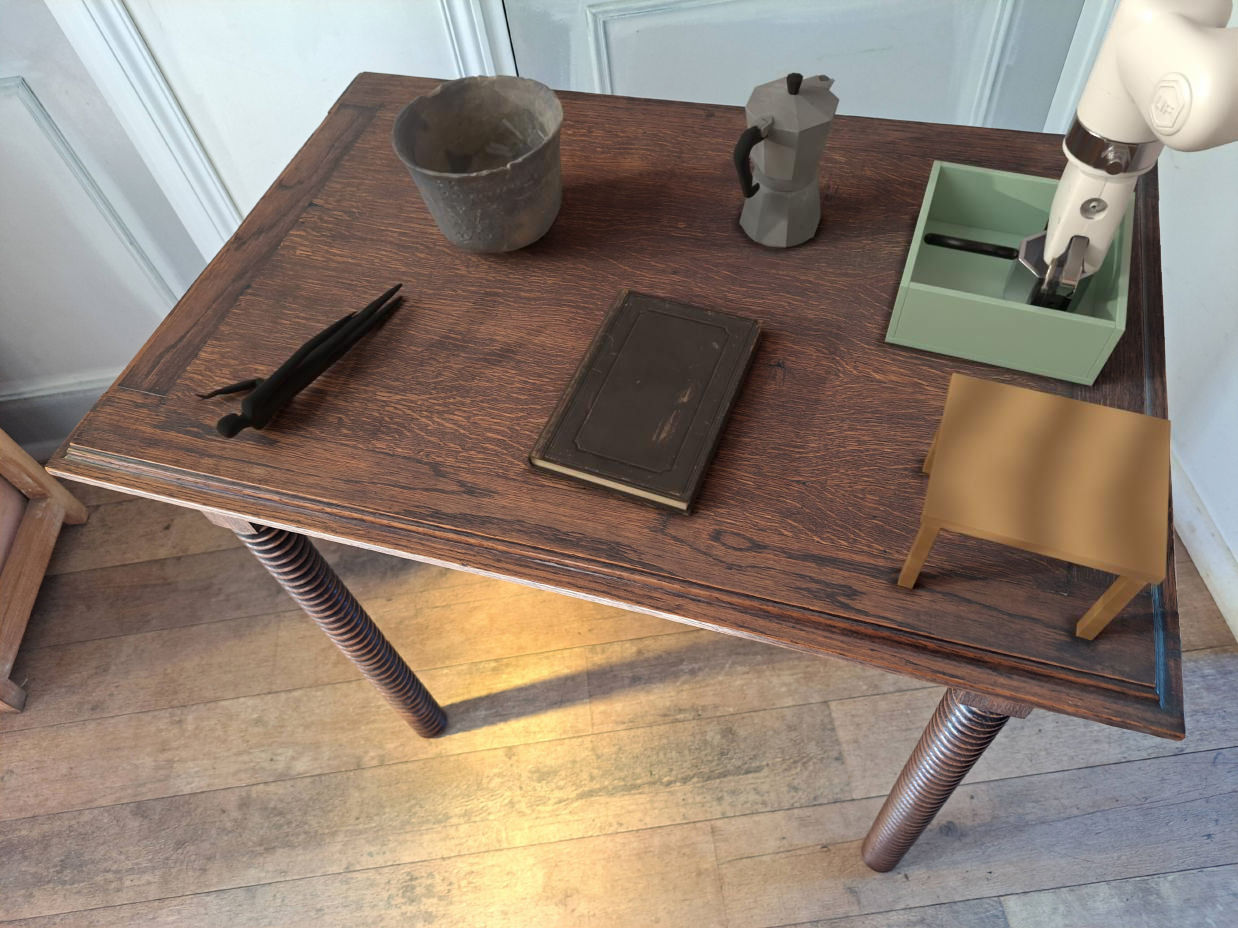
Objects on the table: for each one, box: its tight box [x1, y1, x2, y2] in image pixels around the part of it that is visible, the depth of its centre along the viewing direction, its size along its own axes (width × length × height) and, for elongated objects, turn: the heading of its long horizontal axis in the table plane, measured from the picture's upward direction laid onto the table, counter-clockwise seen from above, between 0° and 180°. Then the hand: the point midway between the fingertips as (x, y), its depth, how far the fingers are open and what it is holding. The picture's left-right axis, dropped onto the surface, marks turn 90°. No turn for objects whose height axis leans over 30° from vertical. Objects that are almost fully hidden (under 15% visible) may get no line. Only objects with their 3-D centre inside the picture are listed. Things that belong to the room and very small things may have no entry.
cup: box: [390, 74, 564, 254], centre depth 94 cm, size 18×18×15 cm
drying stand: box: [897, 372, 1172, 641], centre depth 68 cm, size 16×14×12 cm
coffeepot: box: [732, 72, 840, 248], centre depth 90 cm, size 15×9×18 cm, turn 137°
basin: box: [884, 159, 1136, 387], centre depth 86 cm, size 20×20×8 cm
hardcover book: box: [527, 288, 765, 516], centre depth 84 cm, size 16×23×2 cm
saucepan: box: [924, 230, 1095, 313], centre depth 87 cm, size 16×7×6 cm, turn 69°
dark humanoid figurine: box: [194, 282, 404, 439], centre depth 89 cm, size 8×9×25 cm
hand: (1047, 285), depth 86 cm, fingers open, 9 cm apart
